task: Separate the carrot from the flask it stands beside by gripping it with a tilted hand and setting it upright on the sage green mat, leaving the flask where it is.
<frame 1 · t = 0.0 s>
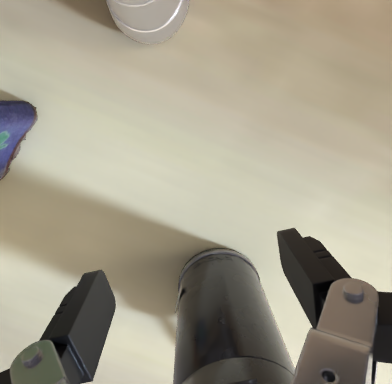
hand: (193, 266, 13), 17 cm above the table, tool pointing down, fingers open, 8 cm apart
plastic bottle: (153, 8, 25), on the table
flask: (10, 140, 28), on the table
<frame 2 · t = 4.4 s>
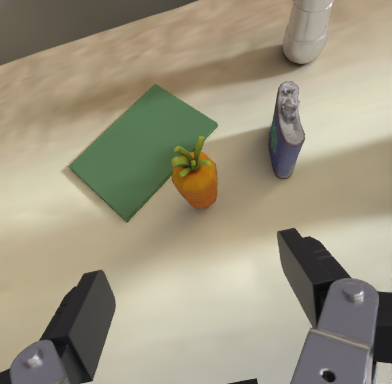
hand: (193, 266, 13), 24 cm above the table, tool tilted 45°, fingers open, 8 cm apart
plastic bottle: (300, 55, 46), on the table
green mat: (143, 147, 44), on the table
flask: (279, 151, 40), on the table
carrot: (205, 204, 39), on the table
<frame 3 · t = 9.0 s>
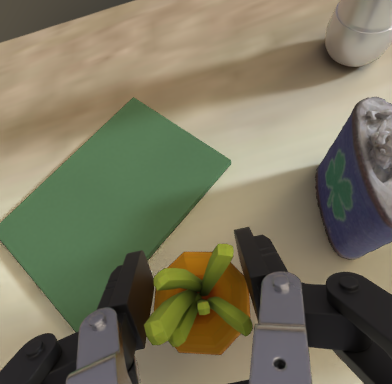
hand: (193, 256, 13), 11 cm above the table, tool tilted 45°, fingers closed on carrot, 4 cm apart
plastic bottle: (349, 54, 31), on the table
green mat: (113, 198, 28), on the table
flask: (335, 207, 25), on the table
carrot: (217, 304, 23), on the table, touching gripper
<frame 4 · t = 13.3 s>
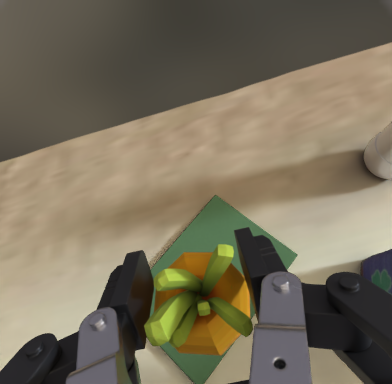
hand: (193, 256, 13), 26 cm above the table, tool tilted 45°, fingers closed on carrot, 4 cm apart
plastic bottle: (381, 164, 41), on the table
green mat: (209, 280, 37), on the table
flask: (376, 295, 34), on the table
carrot: (217, 304, 23), point 14 cm above the table, touching gripper
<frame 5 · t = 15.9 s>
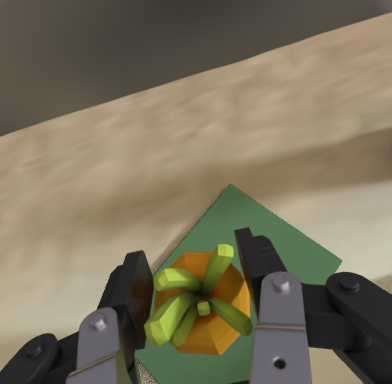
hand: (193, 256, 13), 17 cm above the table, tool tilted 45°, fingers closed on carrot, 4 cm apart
green mat: (225, 294, 28), on the table
carrot: (217, 304, 23), point 6 cm above the table, touching gripper
when the fingers open (12 cm above the table, at t = 17.8 s): carrot stays where it is, resting on green mat.
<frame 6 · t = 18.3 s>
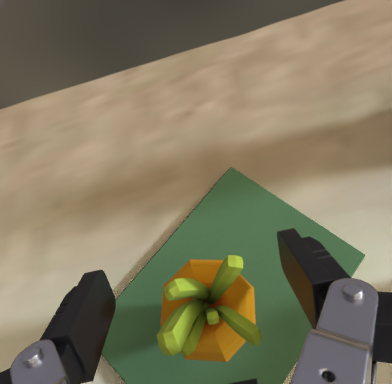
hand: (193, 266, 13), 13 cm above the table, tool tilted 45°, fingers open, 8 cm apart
green mat: (224, 295, 24), on the table
carrot: (218, 308, 23), point 1 cm above the table, touching green mat
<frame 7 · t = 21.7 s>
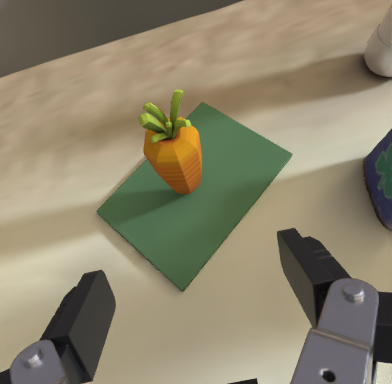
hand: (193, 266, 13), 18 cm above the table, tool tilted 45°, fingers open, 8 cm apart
plastic bottle: (384, 66, 37), on the table
green mat: (194, 185, 34), on the table
flask: (380, 191, 31), on the table
carrot: (189, 191, 33), point 1 cm above the table, touching green mat
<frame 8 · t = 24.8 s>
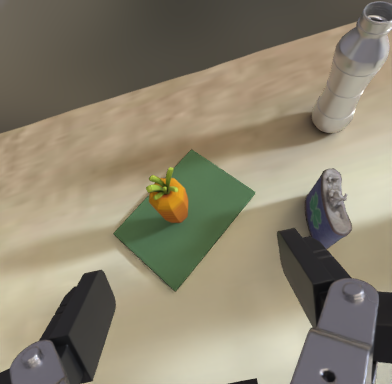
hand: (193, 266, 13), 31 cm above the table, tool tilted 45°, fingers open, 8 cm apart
plastic bottle: (327, 122, 50), on the table
green mat: (184, 214, 46), on the table
flask: (316, 220, 43), on the table
carrot: (181, 219, 45), point 1 cm above the table, touching green mat
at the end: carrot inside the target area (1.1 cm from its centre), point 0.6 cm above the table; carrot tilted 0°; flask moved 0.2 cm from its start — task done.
